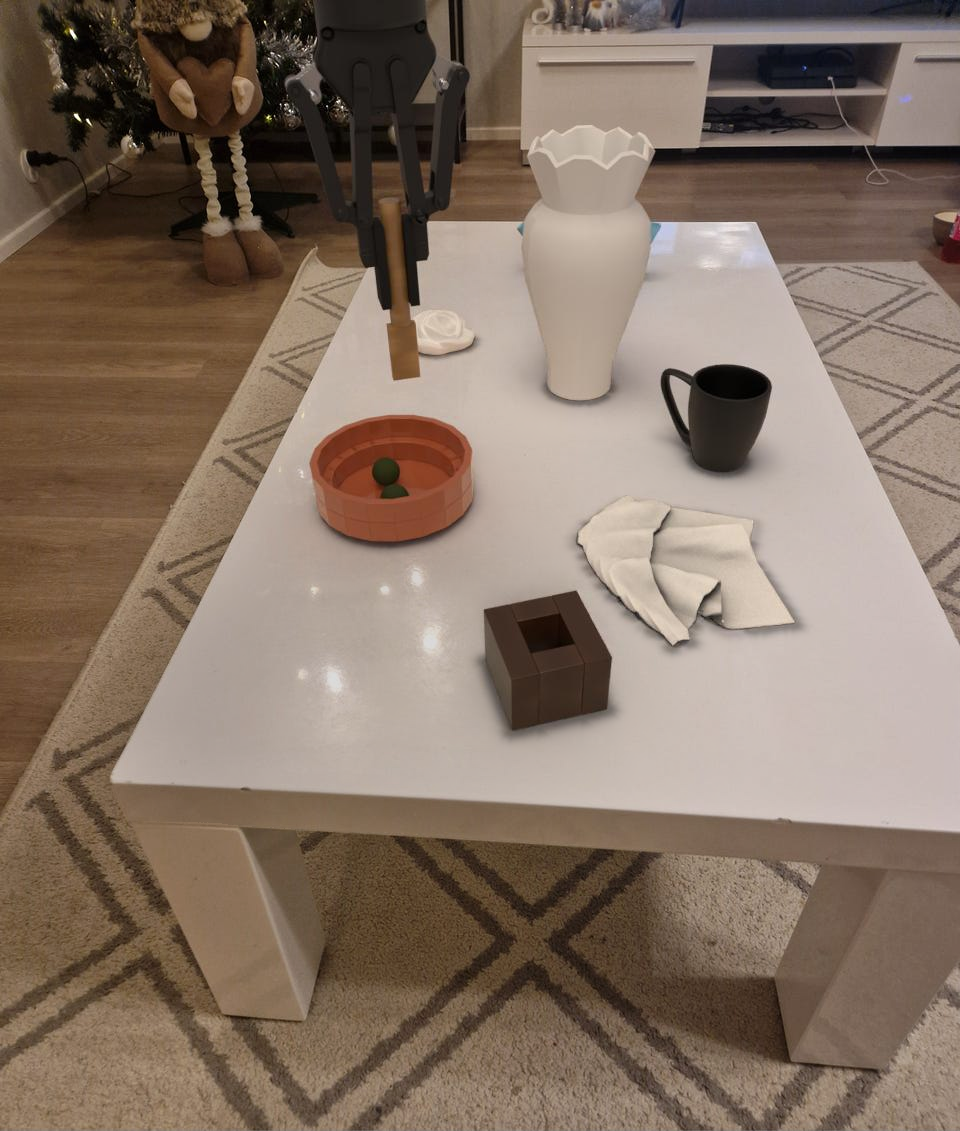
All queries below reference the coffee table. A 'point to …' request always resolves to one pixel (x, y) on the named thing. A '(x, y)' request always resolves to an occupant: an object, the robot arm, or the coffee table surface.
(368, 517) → the bowl
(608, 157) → the vase
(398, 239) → the stick
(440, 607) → the coffee table surface
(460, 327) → the rose
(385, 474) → the ball
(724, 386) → the mug
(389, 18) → the robot arm
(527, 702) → the holder
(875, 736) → the coffee table surface
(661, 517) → the cloth
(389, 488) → the olive
